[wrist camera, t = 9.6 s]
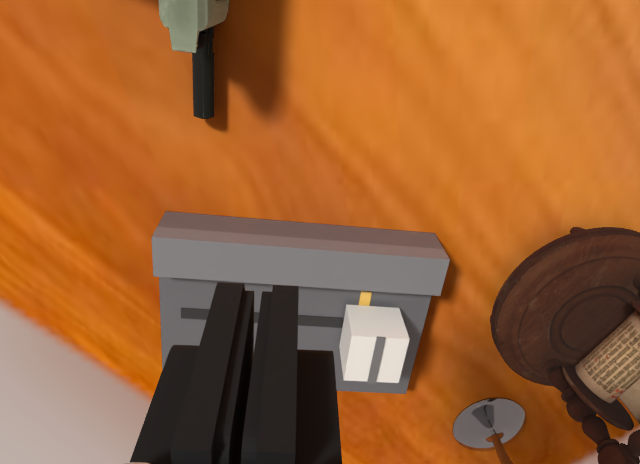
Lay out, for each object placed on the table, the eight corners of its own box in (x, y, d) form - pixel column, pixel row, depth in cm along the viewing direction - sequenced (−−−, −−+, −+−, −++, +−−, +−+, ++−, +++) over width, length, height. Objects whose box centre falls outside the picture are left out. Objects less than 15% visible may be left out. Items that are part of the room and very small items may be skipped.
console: (434, 233, 37) (449, 259, 34) (399, 372, 43) (409, 407, 40) (165, 211, 35) (151, 237, 32) (169, 360, 41) (158, 396, 38)
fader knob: (399, 307, 37) (410, 339, 33) (389, 350, 38) (398, 384, 35) (346, 303, 36) (352, 336, 33) (339, 347, 38) (343, 382, 35)
